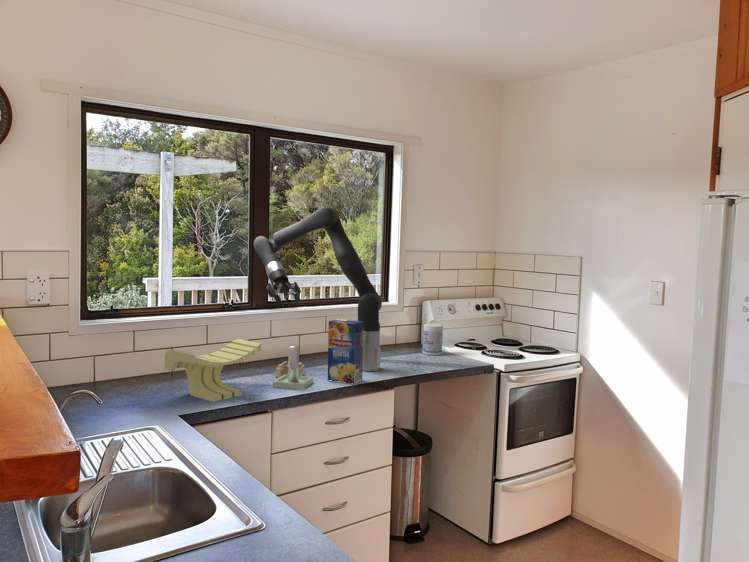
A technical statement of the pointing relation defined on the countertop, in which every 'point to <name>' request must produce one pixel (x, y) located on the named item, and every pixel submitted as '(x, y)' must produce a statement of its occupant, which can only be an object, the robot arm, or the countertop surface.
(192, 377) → the slatted curved stool
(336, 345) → the juice carton
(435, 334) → the supplement tub
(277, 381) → the tray
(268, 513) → the countertop surface
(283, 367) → the bracket block
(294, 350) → the translucent grey cylinder
